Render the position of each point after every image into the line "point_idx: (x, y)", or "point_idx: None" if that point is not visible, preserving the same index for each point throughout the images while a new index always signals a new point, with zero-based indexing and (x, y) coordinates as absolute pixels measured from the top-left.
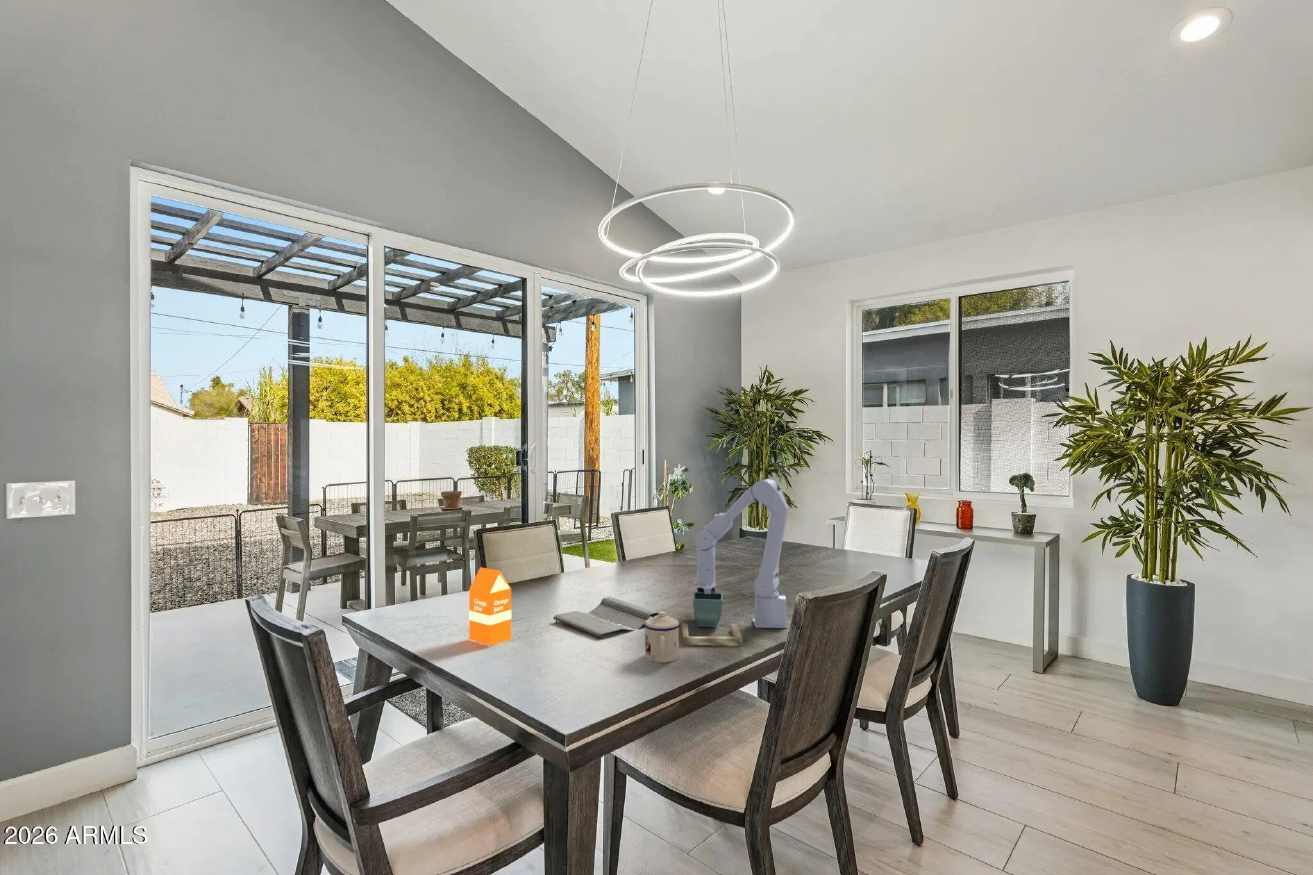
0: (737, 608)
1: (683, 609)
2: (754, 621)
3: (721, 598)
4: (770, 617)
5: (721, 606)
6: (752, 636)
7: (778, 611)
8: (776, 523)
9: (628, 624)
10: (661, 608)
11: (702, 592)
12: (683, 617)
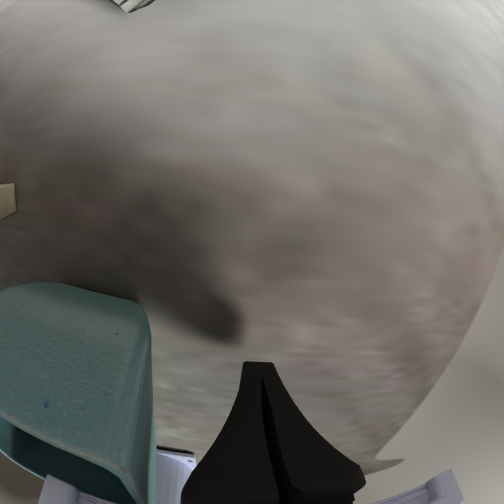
0: (353, 435)
1: (438, 245)
2: (162, 454)
3: (32, 472)
4: None
5: (19, 433)
6: None
7: None
8: None
9: None
10: (475, 121)
11: (132, 493)
12: (271, 215)
